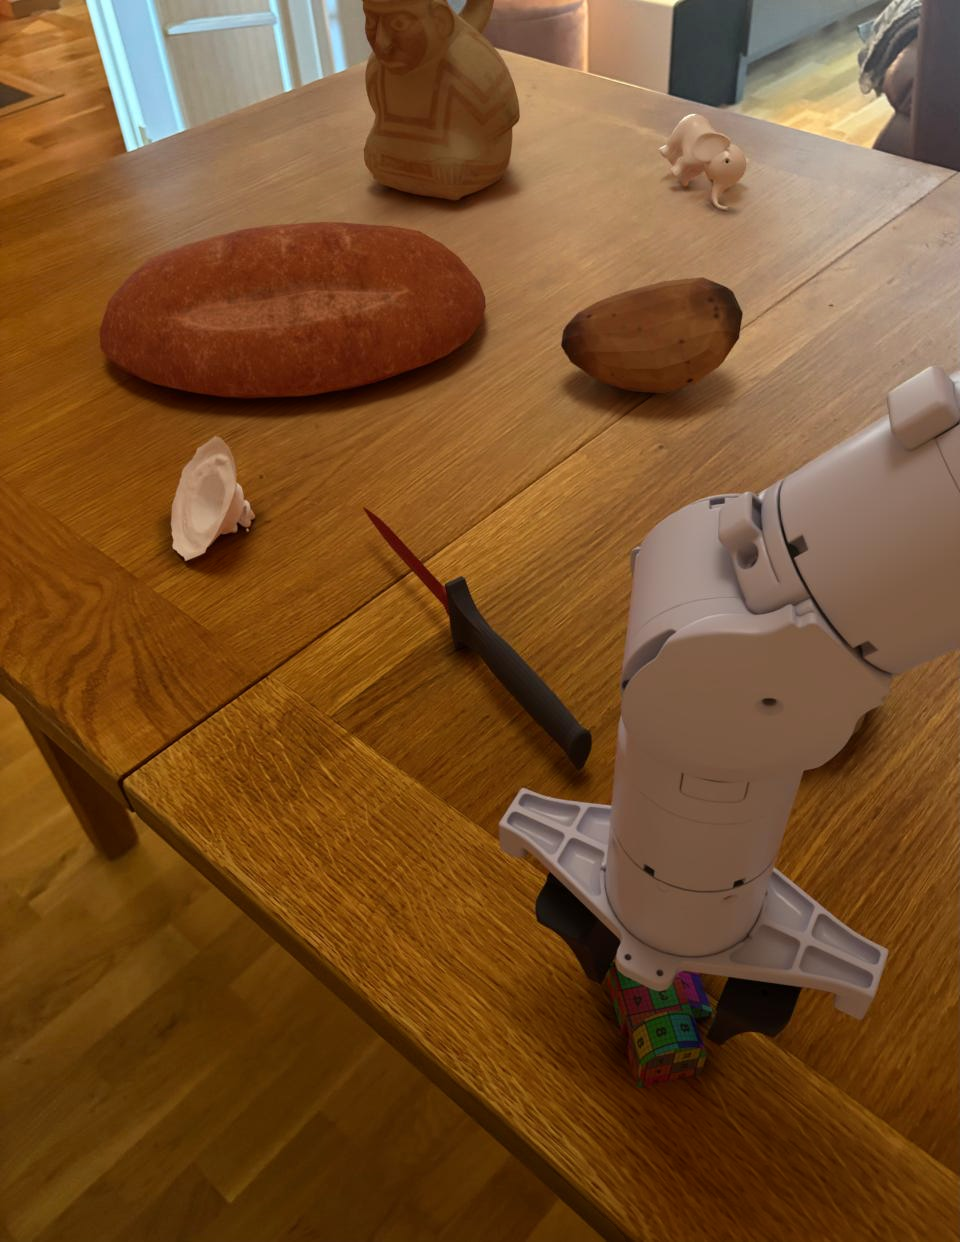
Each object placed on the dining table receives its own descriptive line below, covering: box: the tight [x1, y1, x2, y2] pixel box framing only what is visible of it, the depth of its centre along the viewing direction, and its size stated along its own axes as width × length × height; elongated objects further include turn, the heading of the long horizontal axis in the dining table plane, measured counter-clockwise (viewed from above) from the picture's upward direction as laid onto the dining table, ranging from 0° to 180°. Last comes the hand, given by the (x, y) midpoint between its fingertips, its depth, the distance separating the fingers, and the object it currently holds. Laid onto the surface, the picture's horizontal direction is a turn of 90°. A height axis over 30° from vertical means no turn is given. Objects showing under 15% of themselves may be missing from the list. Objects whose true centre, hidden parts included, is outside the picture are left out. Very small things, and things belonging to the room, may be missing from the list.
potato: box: [560, 277, 744, 394], centre depth 77 cm, size 8×14×8 cm
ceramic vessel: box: [361, 0, 521, 201], centre depth 99 cm, size 17×20×25 cm
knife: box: [362, 506, 593, 771], centre depth 60 cm, size 24×2×5 cm, turn 33°
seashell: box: [170, 435, 256, 562], centre depth 68 cm, size 8×5×8 cm
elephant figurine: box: [658, 113, 751, 211], centre depth 101 cm, size 7×12×6 cm
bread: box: [99, 221, 487, 399], centre depth 84 cm, size 23×32×9 cm
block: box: [607, 961, 713, 1088], centre depth 44 cm, size 6×4×3 cm
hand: (661, 991), depth 44 cm, fingers open, 5 cm apart
